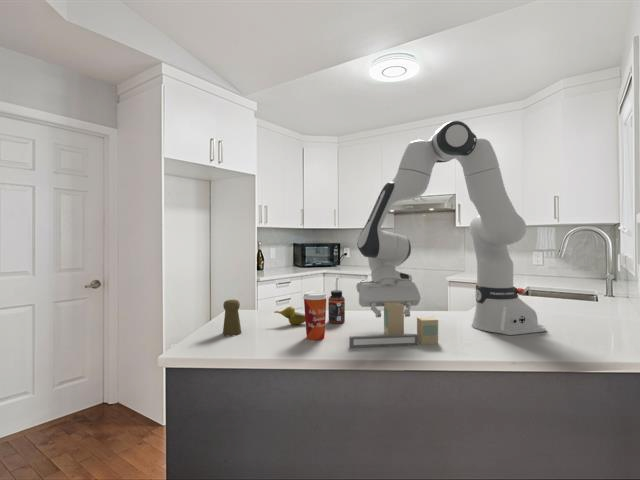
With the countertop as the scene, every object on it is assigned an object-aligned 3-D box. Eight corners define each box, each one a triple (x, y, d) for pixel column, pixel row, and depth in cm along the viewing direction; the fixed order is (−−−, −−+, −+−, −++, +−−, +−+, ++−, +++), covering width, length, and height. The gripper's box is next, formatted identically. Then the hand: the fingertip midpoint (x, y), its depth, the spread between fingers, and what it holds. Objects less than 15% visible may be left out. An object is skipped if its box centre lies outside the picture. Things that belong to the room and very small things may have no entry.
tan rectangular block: (399, 332, 122) (399, 301, 122) (403, 336, 117) (403, 305, 117) (383, 332, 121) (383, 302, 121) (387, 337, 116) (387, 305, 116)
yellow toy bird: (274, 324, 134) (273, 306, 133) (315, 322, 136) (315, 304, 135) (274, 327, 129) (274, 308, 129) (317, 325, 131) (317, 306, 131)
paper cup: (309, 342, 112) (309, 296, 111) (299, 336, 119) (298, 292, 118) (332, 338, 115) (332, 293, 115) (321, 332, 122) (320, 290, 122)
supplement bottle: (343, 324, 132) (343, 292, 132) (327, 323, 133) (326, 292, 133) (345, 320, 138) (345, 289, 138) (330, 319, 139) (329, 289, 139)
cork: (245, 331, 124) (244, 299, 124) (233, 336, 119) (233, 302, 118) (230, 329, 127) (229, 297, 126) (218, 334, 121) (218, 301, 121)
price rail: (416, 343, 110) (416, 333, 110) (418, 345, 108) (418, 335, 108) (349, 346, 108) (349, 336, 108) (350, 348, 107) (350, 337, 107)
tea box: (432, 339, 114) (432, 316, 114) (438, 343, 110) (438, 320, 110) (417, 339, 114) (416, 317, 113) (421, 344, 110) (421, 320, 109)
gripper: (356, 276, 125) (362, 311, 116) (416, 275, 127) (426, 310, 118) (354, 287, 130) (359, 322, 120) (411, 286, 131) (421, 320, 122)
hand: (393, 316), depth 119 cm, fingers open, 8 cm apart
